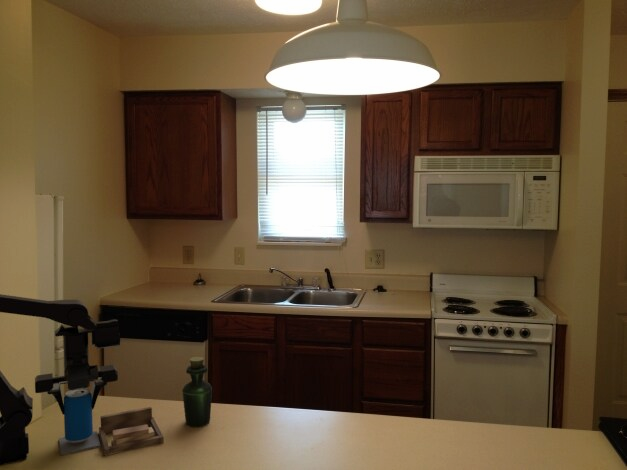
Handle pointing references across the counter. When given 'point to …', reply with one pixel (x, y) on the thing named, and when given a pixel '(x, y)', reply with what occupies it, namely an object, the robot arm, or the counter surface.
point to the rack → (126, 421)
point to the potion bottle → (197, 395)
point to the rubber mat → (79, 444)
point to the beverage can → (78, 415)
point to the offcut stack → (131, 434)
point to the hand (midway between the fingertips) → (78, 411)
